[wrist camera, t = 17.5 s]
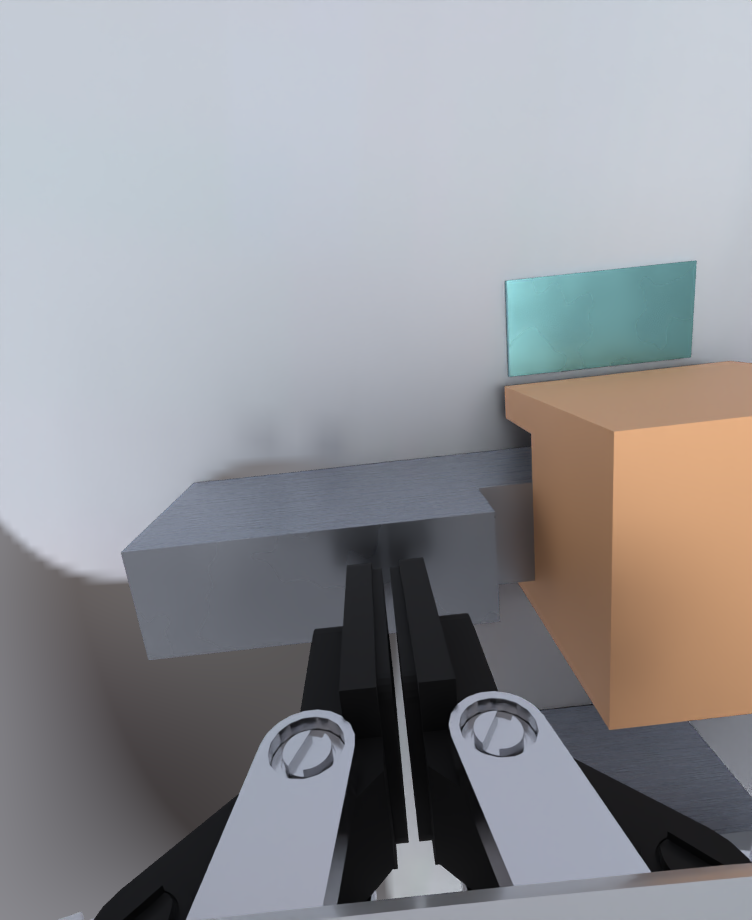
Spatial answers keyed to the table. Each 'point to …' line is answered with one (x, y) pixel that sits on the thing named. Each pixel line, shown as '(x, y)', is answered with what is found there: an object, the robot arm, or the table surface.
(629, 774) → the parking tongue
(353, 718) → the robot arm
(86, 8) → the table surface
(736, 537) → the block
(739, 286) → the table surface
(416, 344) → the table surface
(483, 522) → the rail
